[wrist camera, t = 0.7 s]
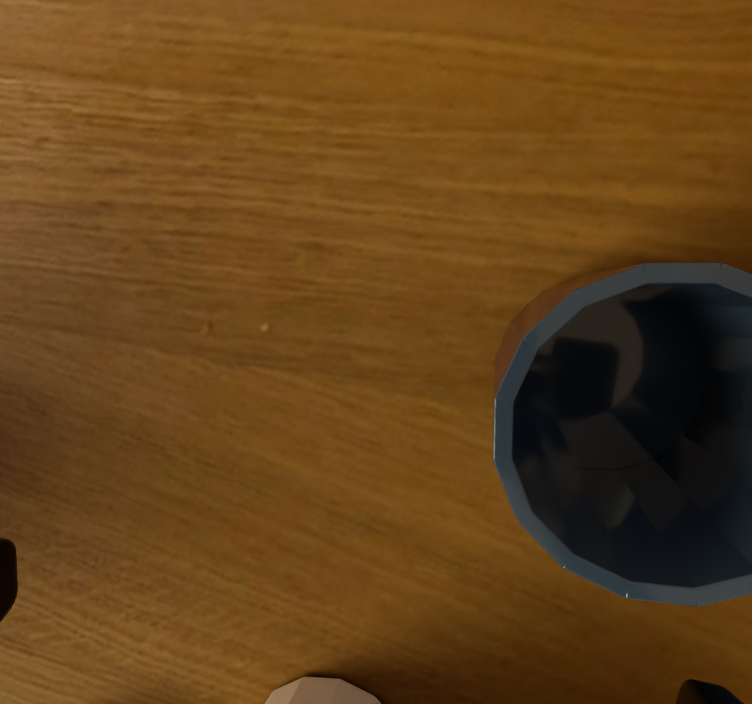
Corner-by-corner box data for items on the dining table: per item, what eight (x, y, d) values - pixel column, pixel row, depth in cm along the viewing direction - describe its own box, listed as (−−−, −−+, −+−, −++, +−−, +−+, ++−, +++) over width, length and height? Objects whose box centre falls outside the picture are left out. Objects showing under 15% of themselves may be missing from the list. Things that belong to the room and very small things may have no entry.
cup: (703, 482, 18) (857, 626, 10) (492, 468, 20) (489, 584, 12) (718, 274, 17) (895, 260, 10) (497, 275, 19) (498, 263, 11)
